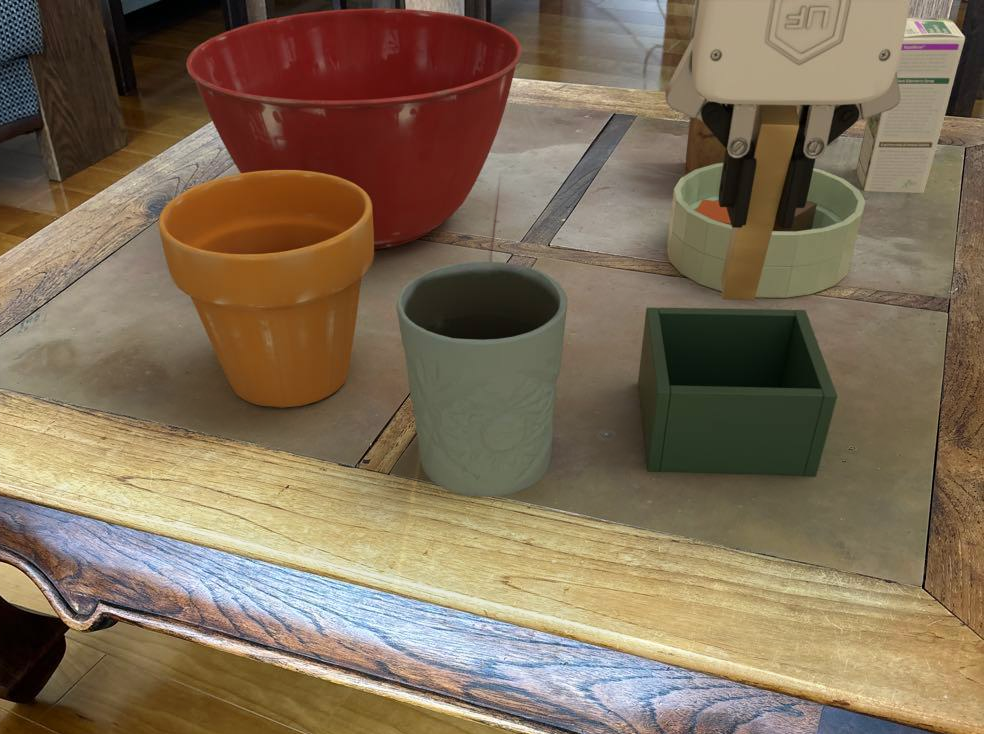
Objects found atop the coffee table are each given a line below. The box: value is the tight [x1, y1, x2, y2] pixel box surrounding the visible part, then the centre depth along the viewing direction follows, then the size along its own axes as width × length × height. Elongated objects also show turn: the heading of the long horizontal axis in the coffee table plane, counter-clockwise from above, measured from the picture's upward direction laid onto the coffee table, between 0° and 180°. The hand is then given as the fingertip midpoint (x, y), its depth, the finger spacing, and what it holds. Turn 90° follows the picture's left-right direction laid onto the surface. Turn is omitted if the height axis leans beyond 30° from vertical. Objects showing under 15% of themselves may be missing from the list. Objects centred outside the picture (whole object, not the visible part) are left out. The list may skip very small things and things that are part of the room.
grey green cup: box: [395, 261, 568, 498], centre depth 64 cm, size 10×10×12 cm
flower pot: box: [157, 170, 375, 408], centre depth 72 cm, size 14×14×13 cm
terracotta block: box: [696, 199, 731, 225], centre depth 87 cm, size 4×4×4 cm
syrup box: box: [855, 17, 966, 194], centre depth 95 cm, size 6×6×14 cm
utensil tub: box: [637, 307, 838, 478], centre depth 67 cm, size 11×11×7 cm
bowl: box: [666, 163, 866, 299], centre depth 87 cm, size 15×15×6 cm
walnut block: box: [772, 201, 817, 232], centre depth 88 cm, size 4×4×4 cm
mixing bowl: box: [185, 8, 523, 250], centre depth 92 cm, size 28×28×16 cm
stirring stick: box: [721, 105, 799, 302], centre depth 60 cm, size 2×2×12 cm
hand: (758, 216), depth 59 cm, fingers closed on stirring stick, 2 cm apart
